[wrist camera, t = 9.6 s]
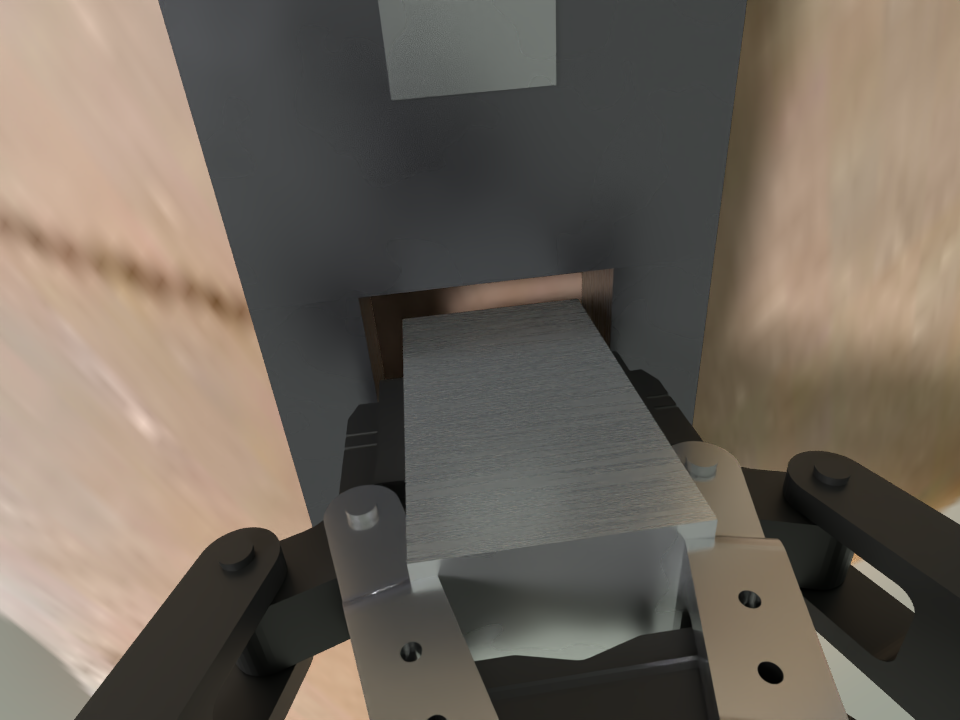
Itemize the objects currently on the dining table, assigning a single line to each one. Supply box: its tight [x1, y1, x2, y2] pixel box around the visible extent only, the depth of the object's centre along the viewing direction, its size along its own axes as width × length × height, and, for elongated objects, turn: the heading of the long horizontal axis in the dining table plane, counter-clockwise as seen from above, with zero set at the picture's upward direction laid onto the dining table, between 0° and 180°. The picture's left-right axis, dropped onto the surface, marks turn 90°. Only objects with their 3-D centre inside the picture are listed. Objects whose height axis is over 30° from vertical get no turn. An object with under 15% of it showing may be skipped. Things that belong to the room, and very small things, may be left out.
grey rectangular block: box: [403, 299, 718, 661], centre depth 12 cm, size 4×4×7 cm
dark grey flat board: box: [158, 0, 747, 527], centre depth 14 cm, size 10×20×3 cm, turn 4°
